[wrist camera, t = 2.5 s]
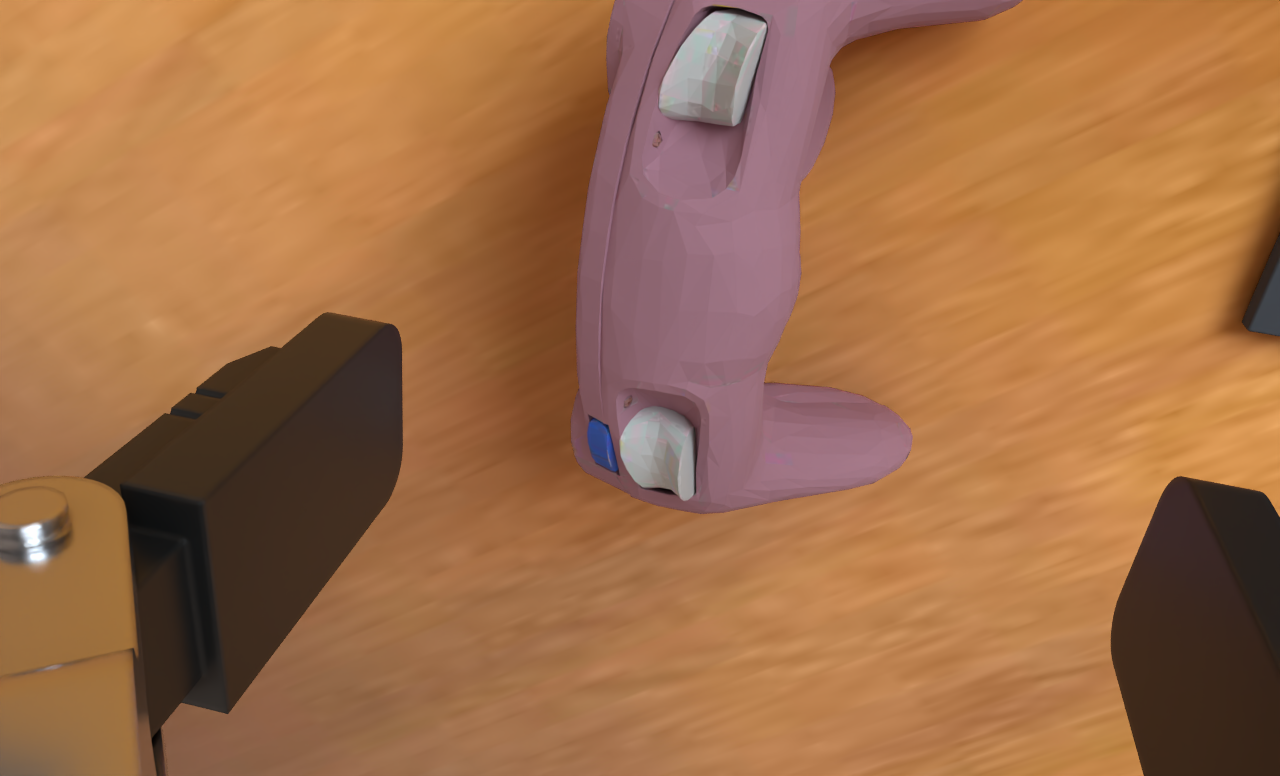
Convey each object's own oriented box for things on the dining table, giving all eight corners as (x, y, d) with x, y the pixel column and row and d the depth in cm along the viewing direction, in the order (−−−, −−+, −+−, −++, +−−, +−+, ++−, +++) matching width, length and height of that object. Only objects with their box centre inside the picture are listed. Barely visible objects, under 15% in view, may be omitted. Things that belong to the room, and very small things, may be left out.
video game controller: (812, -116, 18) (529, -124, 13) (1075, -76, 16) (854, -68, 11) (729, 383, 23) (500, 518, 18) (921, 471, 20) (720, 653, 15)
